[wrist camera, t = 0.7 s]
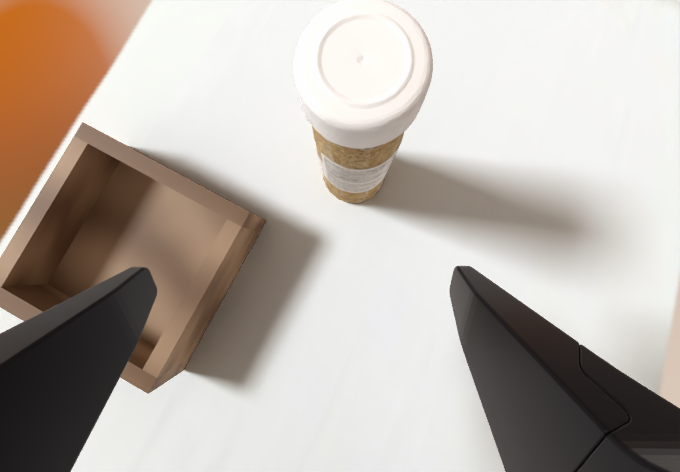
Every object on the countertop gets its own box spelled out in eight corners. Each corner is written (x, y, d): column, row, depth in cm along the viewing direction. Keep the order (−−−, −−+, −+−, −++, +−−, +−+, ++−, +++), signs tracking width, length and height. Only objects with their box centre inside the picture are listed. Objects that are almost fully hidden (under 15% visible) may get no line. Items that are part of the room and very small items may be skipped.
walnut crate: (183, 370, 23) (148, 393, 19) (41, 288, 23) (-22, 294, 19) (266, 220, 23) (249, 212, 19) (126, 145, 24) (82, 122, 20)
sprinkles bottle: (336, 134, 24) (323, -30, 10) (394, 156, 24) (457, 17, 10) (313, 191, 23) (268, 97, 10) (371, 214, 23) (405, 150, 10)
